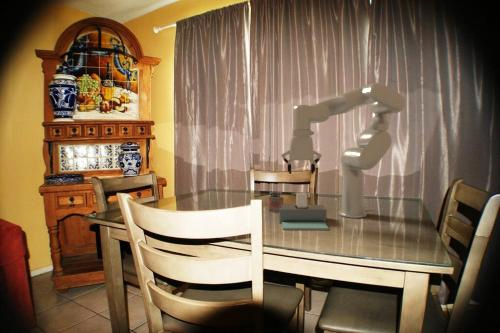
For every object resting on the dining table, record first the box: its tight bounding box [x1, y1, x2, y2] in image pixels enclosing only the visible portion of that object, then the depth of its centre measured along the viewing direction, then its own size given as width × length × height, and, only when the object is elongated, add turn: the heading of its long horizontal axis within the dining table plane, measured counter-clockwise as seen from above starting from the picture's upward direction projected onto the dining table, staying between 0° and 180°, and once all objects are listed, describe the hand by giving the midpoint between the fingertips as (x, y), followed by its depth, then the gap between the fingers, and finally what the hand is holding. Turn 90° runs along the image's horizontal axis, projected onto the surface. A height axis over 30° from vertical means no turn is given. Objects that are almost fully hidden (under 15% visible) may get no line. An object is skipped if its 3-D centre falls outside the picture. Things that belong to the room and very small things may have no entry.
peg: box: [295, 192, 308, 209], centre depth 126 cm, size 4×4×12 cm
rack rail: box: [278, 204, 328, 224], centre depth 126 cm, size 20×9×6 cm, turn 86°
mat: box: [281, 222, 329, 231], centre depth 117 cm, size 18×8×1 cm, turn 86°
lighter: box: [267, 191, 284, 214], centre depth 142 cm, size 8×3×10 cm, turn 62°
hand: (301, 173), depth 125 cm, fingers open, 9 cm apart
